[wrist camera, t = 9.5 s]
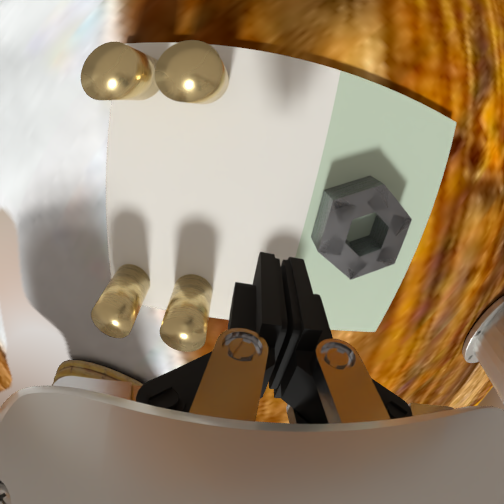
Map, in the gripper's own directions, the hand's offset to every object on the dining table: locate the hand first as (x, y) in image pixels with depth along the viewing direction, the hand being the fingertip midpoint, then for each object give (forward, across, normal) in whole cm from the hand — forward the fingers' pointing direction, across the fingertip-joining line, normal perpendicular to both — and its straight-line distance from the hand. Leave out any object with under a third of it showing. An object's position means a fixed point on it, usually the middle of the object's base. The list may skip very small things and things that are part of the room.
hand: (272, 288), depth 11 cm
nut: (+9, -6, -1) cm, 11 cm away
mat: (+10, -1, 0) cm, 10 cm away
